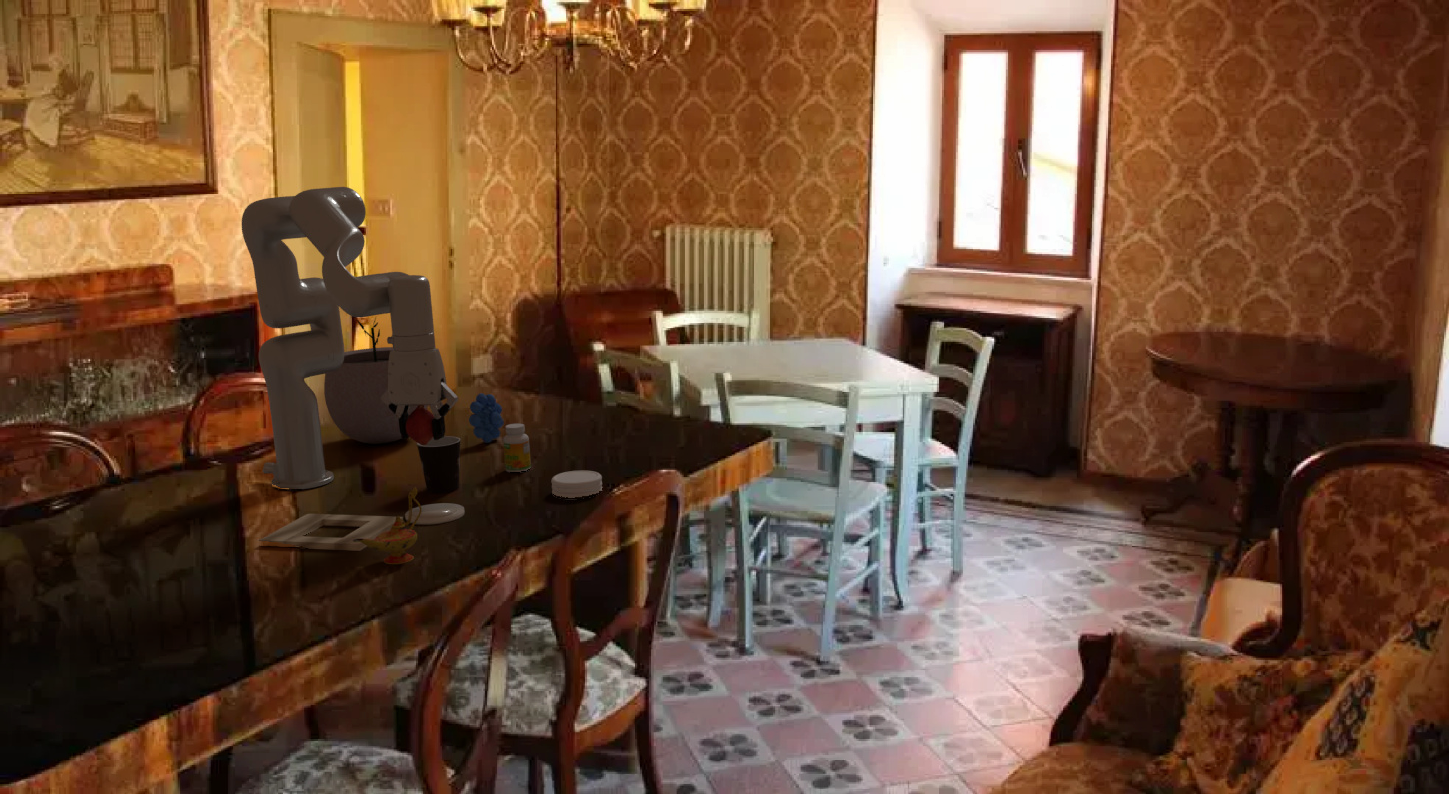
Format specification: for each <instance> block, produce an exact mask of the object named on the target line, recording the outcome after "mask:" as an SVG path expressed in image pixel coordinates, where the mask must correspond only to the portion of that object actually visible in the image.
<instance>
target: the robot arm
mask: <svg viewBox="0 0 1449 794" xmlns="http://www.w3.org/2000/svg"><path fill="white" fill-rule="evenodd" d="M366 212H367V211H366V205H365V202H364V200H363V198H362V196H361V195H360V194H359V193H358V192H357V191H356V190H355V189H353V188H350V187H348V186H336V187H335V186H334V187H323V188H321V187H320V188H311V189H306V190H303V191H300V192H298V193H297V194H296V195H288V196H287V195H286V196H277V197H268V198H261V199H258V200H256V201H253V202H251V203H249V204H248V205H247V206H246V207H245V208H244V211H243V212H242V213H243V214H242V216H241V233H242V237H243V240H244V243H245V245H246V248H247V250H248V253H249V255H250V258H251V261H252V265H253V266H252V267H253V272H254V279H255V280H254V281H255V287H256V293H257V299H258V300H257V301H258V306H259V312H260V316H261V320H262V321H263V323H264V324H265V326H267V327H268V328H271V329H287V328H293V327H299V326H306V325H309V327H310V330H305V331H298V332H292V333H291V332H290V333H286V334H281V335H280V334H279V335H277V336H274V337H271V338H269V339H267V340H266V341H265V342H263V343H262V344H261V346H260V347H259V351H258V362H259V367H260V369H261V372H262V376H263V379H264V381H265V382H264V383H265V386H266V390H267V396H268V403H269V410H270V412H269V413H270V416H271V417H270V418H271V419H270V420H271V425H272V434H273V435H272V436H273V442H274V451H275V461H276V462H265V463H264V464H263V468H262V473H263V474H268V475H269V474H272V475H273V478H272V479H271V480H272V481H271V482H270V484H271V483H272V484H273V485H276V486H278V487H280V488H289V489H302V490H308V489H313V488H318V487H322V486H324V485H327V484H330V483H331V482H332V481H333V480H334V478H335V476H334V473H333V472H332V471H331V470H326V465H325V456H324V447H323V446H324V445H323V440H322V430H321V422H320V413H319V404H318V403H319V402H318V399H317V396H316V394H315V392H314V390H313V389H311V387H310V386H309V385H308V384H307V383H306V381H305V379H307V378H310V377H315V376H319V375H325V374H326V373H330V372H334V371H336V370H338V369H339V368H340V367H341V366H342V364H343V361H344V352H345V343H344V336H343V328H342V326H343V325H342V320H341V314H340V312H341V311H340V309H341V310H342V311H343V312H345V313H346V314H347V315H349V316H351V317H352V318H366V317H372V316H379V315H384V314H390V323H391V336H388V337H387V339H386V342H387V344H388V345H391V346H392V347H393V348H394V351H391V352H390V355H389V363H388V389H387V391H386V392H385V393H384V394H383V396H382V397H381V400H382V401H383V402H384V403H385V404H386V405H387V406H389V409H390V410H391V411H392V412H393V413H394V414H395V416H396V418H398V419H399V429H400V433H401V438H402V439H401V440H406V439H408V438H410V437H409V435H408V434H407V432H406V421H407V419H408V417H409V415H408V411H409V408H410V405H428V406H429V408H430V410H431V411H430V412H431V413H432V414H433V415H434V419H432V428H433V438H434V440H439V439H441V438H443V437H444V436H445V434H446V421H445V417H446V416H447V414H448V412H450V410H452V409H453V407H454V406H455V405H456V403H457V402H458V401H459V396H457V394H456V393H455V392H454V391H453V390H452V389H451V388H450V387H449V386H448V383H447V379H446V378H447V377H446V373H445V367H444V364H443V363H444V362H443V358H442V355H441V353H440V349H439V348H436V338H435V327H434V317H433V305H432V304H433V303H432V295H431V284H430V280H429V279H428V277H426V276H424V275H419V274H415V275H414V274H412V275H411V274H408V273H405V272H402V271H390V272H383V273H373V274H367V275H366V274H365V275H360V276H354V275H353V274H352V273H351V272H350V271H349V270H348V268H346V267H347V266H349V265H350V264H351V263H353V262H354V261H355V260H357V258H358V257H359V256H360V255H361V254H362V252H363V251H364V250H363V249H364V247H365V244H366V243H365V237H364V234H363V233H362V231H361V230H360V229H359V227H360V226H361V225H362V224H364V221H365V219H366ZM301 238H307V240H308V241H310V243H311V244H312V245H313V247H315V249H316V250H317V251H318V252H319V253H320V254H321V256H322V257H323V260H322V264H321V274H322V278H321V277H307V278H300V275H299V274H300V273H299V268H298V263H297V258H296V256H295V254H294V252H293V251H292V250H291V249H290V247H289V246H288V245H287V244H286V243H285V242H284V241H283V240H293V239H301ZM444 400H446V402H445V403H443V401H444ZM272 484H271V485H272Z"/></svg>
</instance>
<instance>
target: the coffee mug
mask: <svg viewBox="0 0 1449 794" xmlns="http://www.w3.org/2000/svg"><path fill="white" fill-rule="evenodd" d="M416 446H417V451H418V454H419V459H420V464H421V468H422V474H423V478H424V481H425V487H426V491H427V493H430V494H446V493H447V494H448V493H453V492H455V491H458V490H459V489H460V469H461V468H460V467H461V466H460V464H461V459H460V458H461V438H460V437H457V436H452V435H451V436H450V435H449V436H447V435H446V436H445V435H444V437H443V438H441V439H439V440H434V438H432V439H431V440H430V441H429V442H428V444H427V445H421V444H419V443H417V442H416ZM458 488H459V489H458Z"/></svg>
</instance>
